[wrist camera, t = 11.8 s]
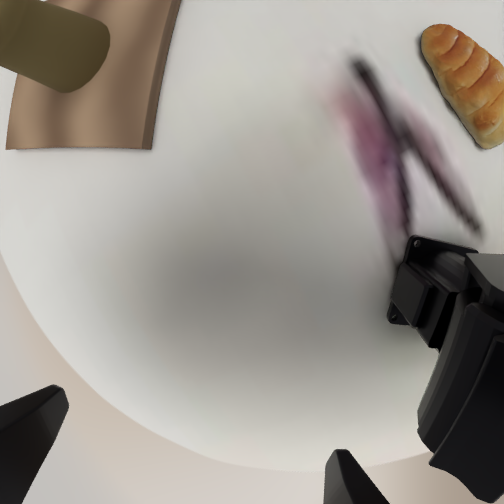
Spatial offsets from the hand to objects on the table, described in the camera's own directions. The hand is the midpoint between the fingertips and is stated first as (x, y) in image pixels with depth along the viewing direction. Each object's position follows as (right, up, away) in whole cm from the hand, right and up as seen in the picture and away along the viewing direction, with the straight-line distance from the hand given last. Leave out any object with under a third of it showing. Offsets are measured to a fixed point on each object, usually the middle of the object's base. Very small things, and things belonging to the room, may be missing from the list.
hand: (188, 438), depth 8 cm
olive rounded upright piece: (-11, +20, +7) cm, 24 cm away
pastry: (+18, +17, +7) cm, 26 cm away
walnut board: (-11, +20, +9) cm, 24 cm away
